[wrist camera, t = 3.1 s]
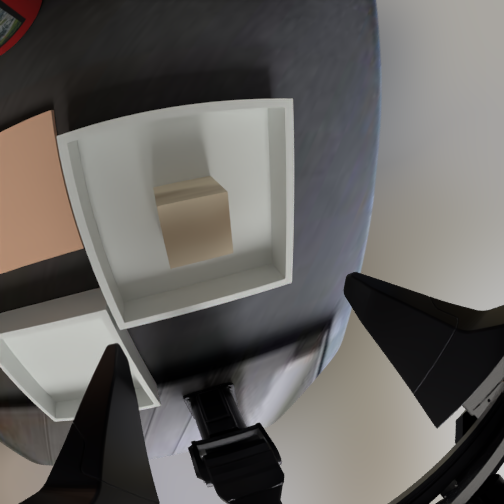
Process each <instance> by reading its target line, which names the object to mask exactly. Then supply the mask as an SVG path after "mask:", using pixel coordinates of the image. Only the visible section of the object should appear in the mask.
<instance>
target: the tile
mask: <svg viewBox="0 0 504 504" xmlns="http://www.w3.org/2000/svg"><path fill="white" fill-rule="evenodd" d="M56 136H57V131H56V124H55V116H54V110H50V111H47V112H44V113H42V114H39V115H37V116H34V117H32V118H30V119H27V120H25V121H23V122H21V123H19V124H16V125H14V126H12V127H10V128H8V129H6V130H4V131H2V132H0V274H2V273H5V272H8V271H11V270H14V269H17V268H20V267H23V266H26V265H29V264H33V263H36V262H39V261H42V260H45V259H49V258H52V257H55V256H59V255H62V254H66V253H69V252H73V251H76V250H80V249H83V248H84V244H83V241H82V238H81V235H80V232H79V229H78V226H77V222H76V219H75V216H74V212H73V209H72V205H71V202H70V198H69V194H68V190H67V186H66V182H65V178H64V174H63V169H62V164H61V160H60V154H59V149H58V143H57V137H56Z"/></svg>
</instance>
